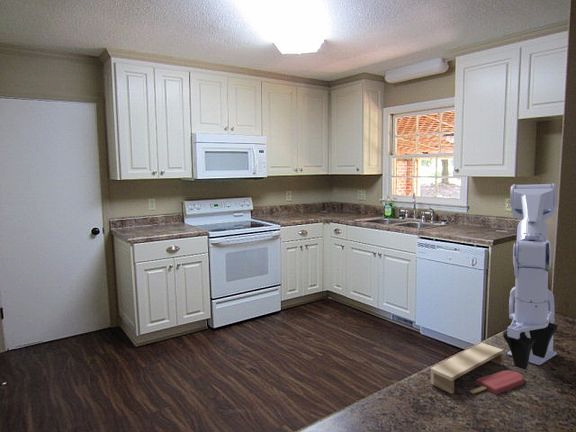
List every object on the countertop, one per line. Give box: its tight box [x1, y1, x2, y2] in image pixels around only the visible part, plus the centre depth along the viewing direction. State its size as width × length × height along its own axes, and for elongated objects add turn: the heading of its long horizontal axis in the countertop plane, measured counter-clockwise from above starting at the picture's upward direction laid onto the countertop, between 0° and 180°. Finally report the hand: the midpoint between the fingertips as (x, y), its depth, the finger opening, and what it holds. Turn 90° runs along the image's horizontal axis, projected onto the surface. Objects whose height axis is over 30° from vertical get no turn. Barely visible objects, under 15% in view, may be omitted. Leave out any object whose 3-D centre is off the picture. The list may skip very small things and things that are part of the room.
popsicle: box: [469, 370, 525, 396], centre depth 93 cm, size 5×2×15 cm
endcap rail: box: [430, 342, 504, 395], centre depth 98 cm, size 21×6×4 cm, turn 124°
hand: (530, 361), depth 86 cm, fingers open, 7 cm apart
